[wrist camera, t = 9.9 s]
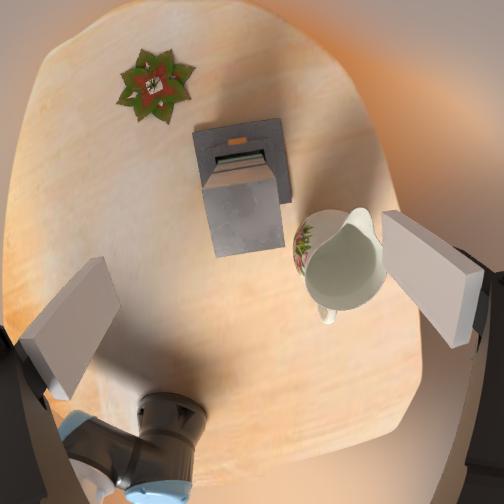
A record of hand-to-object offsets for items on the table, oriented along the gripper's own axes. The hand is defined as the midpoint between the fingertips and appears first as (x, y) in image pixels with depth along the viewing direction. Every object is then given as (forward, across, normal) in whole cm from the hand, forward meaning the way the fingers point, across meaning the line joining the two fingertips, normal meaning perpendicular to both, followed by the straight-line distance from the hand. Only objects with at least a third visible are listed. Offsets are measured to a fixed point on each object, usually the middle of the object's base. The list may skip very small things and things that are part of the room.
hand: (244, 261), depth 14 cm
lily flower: (+33, -10, +14) cm, 38 cm away
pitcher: (+33, +10, -13) cm, 37 cm away
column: (+24, 0, 0) cm, 24 cm away
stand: (+32, 0, 0) cm, 33 cm away
